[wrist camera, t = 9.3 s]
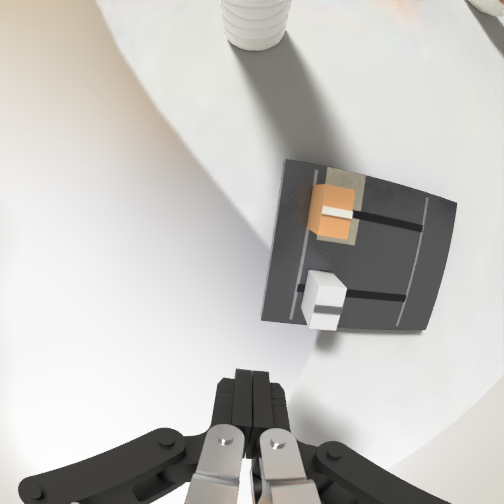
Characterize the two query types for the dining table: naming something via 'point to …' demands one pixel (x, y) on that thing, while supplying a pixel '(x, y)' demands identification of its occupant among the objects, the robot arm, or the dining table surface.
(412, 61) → the dining table surface
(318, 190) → the fader orange
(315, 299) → the white banded fader cap
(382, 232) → the console
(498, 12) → the lidded bowl
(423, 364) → the dining table surface
